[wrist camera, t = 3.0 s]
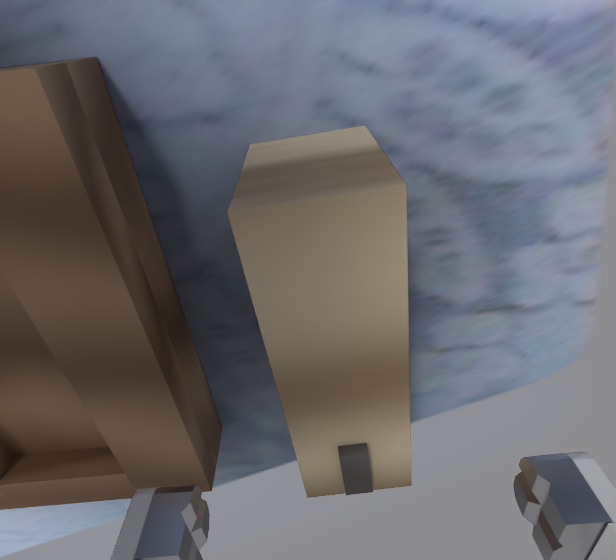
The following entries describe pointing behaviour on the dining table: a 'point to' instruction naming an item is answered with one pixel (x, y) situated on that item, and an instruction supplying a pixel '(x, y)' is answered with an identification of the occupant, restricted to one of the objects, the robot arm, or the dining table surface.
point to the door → (332, 301)
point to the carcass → (87, 308)
